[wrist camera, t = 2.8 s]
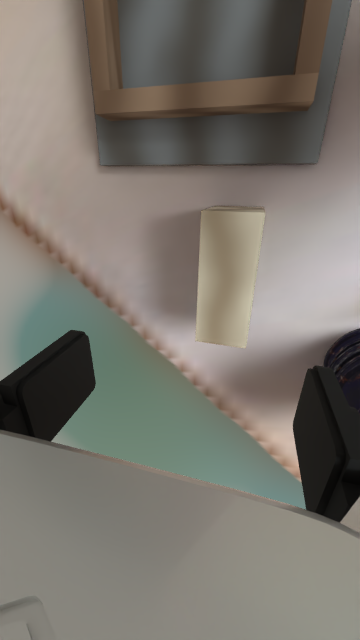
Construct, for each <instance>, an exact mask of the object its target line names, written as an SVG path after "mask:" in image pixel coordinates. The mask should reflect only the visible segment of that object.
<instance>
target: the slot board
mask: <svg viewBox="0 0 360 640" xmlns="http://www.w3.org/2000/svg"><path fill="white" fill-rule="evenodd" d="M351 2H352V0H83V5H84V15H85V24H86V34H87V43H88V53H89V62H90V72H91V81H92V91H93V100H94V110H95V120H96V129H97V139H98V148H99V158H100V165H103V166H143V165H246V164H316V163H318V159H319V154H320V150H321V145H322V140H323V135H324V131H325V126H326V121H327V116H328V111H329V107H330V102H331V97H332V92H333V88H334V83H335V78H336V73H337V69H338V64H339V59H340V54H341V49H342V45H343V40H344V35H345V30H346V26H347V21H348V16H349V11H350V7H351Z"/></svg>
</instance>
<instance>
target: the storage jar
mask: <svg viewBox="0 0 360 640" xmlns="http://www.w3.org/2000/svg"><path fill="white" fill-rule="evenodd" d="M324 367H329V368H332V369H333V371H334V373H335V375H336V378H337V380H338V382H339V384H340V386H341V389H342V391H343V393H344V395H345V397H346V400H347V402H348V404H349V406H350V407H354V408H356V409H357V411H358V412H359V414H360V329H357V330H355V331H352V332H350V333H348V334H346V335H344V336H343V337H341V338H340V339H339V340H337V341H336V342H335V343H334V344H333V345H332V346H331V348H330V349H329V350H328V352H327V354H326V356H325V360H324Z"/></svg>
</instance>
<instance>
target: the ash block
mask: <svg viewBox="0 0 360 640" xmlns="http://www.w3.org/2000/svg"><path fill="white" fill-rule="evenodd" d="M264 219H265V209H264V207H244V206H214V207H211V208H208V209H205V210H201V225H200V248H199V270H198V292H197V315H196V337H195V341H198V342H205V343H212V344H219V345H225V346H232V347H239V348H246V344H247V337H248V330H249V323H250V316H251V309H252V302H253V295H254V289H255V282H256V275H257V268H258V261H259V254H260V247H261V240H262V233H263V226H264Z"/></svg>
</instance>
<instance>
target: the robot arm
mask: <svg viewBox="0 0 360 640" xmlns="http://www.w3.org/2000/svg"><path fill="white" fill-rule="evenodd" d="M95 384H96V383H95V376H94V369H93V363H92V356H91V350H90V343H89V338H88V336H87V335H86V334H85V332H82V331H75V330H70V331H69V332H67V333H66V334H65V335H63V336H62V337H60V338H59V339H58V340H56V341H55V342H54V343H52V344H51V345H49V346H48V347H47V348H45V349H44V350H43V351H41V352H40V353H38V354H37V355H36V356H34V357H33V358H32V359H30V360H29V361H27V362H26V363H25V364H23V365H22V366H21V367H19V368H18V369H17V370H15V371H14V372H12V373H11V374H10V375H8V376H7V377H6V378H4V379H3V380H1V381H0V640H360V414H359V412H358V411H357V409H356V408H354V407H350V406H349V404H348V402H347V400H346V397H345V395H344V393H343V391H342V389H341V386H340V384H339V382H338V380H337V378H336V375H335V373H334V371H333V369H332V368H329V367H322V366H314V367H313V369H308V370H307V373H306V377H305V381H304V384H303V388H302V392H301V395H300V399H299V403H298V406H297V410H296V414H295V417H294V421H293V432H294V438H295V444H296V450H297V456H298V462H299V468H300V474H301V480H302V486H303V492H304V498H305V504H306V510H305V509H302V508H299V507H296V506H292V505H289V504H286V503H283V502H279V501H275V500H272V499H268V498H265V497H261V496H257V495H254V494H250V493H247V492H243V491H239V490H236V489H232V488H229V487H225V486H221V485H217V484H213V483H210V482H206V481H202V480H198V479H194V478H191V477H187V476H183V475H179V474H175V473H172V472H168V471H164V470H159V469H156V468H152V467H148V466H145V465H140V464H136V463H133V462H129V461H125V460H121V459H117V458H113V457H109V456H105V455H102V454H98V453H94V452H90V451H86V450H82V449H78V448H74V447H70V446H66V445H62V444H58V443H54V442H51V441H52V439H53V438H54V437H55V436H56V435H57V433H58V432H59V431H60V430H61V429H62V427H63V426H64V425H65V424H66V423H67V421H68V420H69V419H70V418H71V417H72V415H73V414H74V413H75V412H76V411H77V409H78V408H79V407H80V406H81V405H82V403H83V402H84V401H85V400H86V398H87V397H88V396H89V395H90V394H91V392H92V391H93V390H94V388H95Z"/></svg>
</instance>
